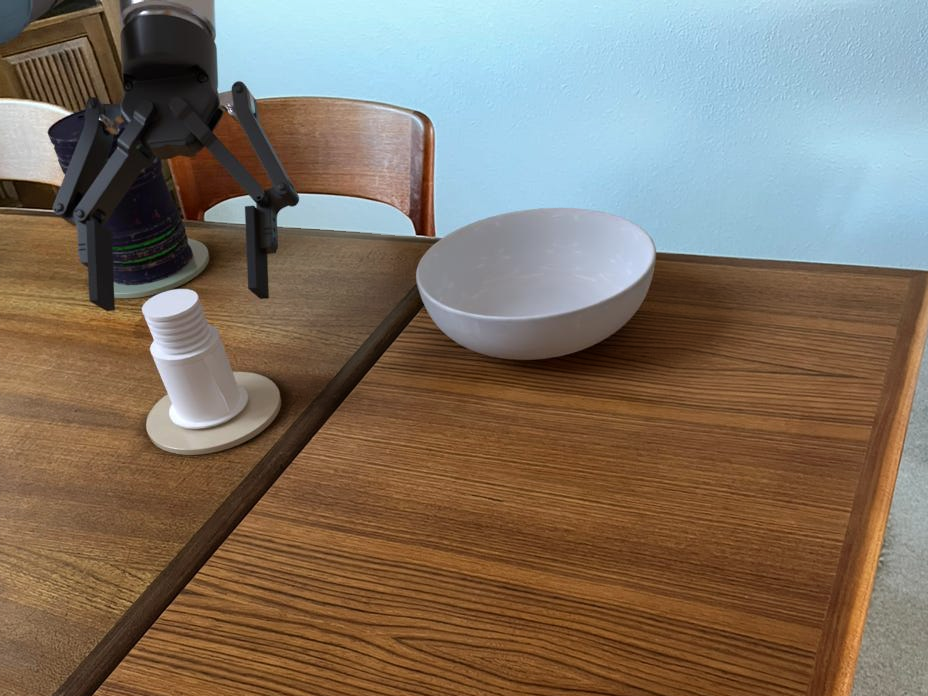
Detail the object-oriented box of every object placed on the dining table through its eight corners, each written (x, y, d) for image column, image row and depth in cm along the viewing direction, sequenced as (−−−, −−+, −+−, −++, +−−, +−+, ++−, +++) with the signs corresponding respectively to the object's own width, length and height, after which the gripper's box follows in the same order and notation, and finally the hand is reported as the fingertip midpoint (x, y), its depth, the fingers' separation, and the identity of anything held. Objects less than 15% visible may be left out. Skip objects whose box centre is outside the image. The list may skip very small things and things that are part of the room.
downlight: (152, 414, 86) (107, 310, 79) (214, 376, 89) (176, 273, 82) (205, 442, 82) (162, 335, 75) (268, 402, 85) (233, 295, 78)
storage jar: (211, 255, 107) (163, 110, 96) (138, 294, 103) (79, 146, 92) (161, 236, 113) (110, 97, 102) (89, 272, 108) (28, 131, 97)
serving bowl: (699, 343, 84) (703, 267, 79) (479, 420, 80) (468, 345, 75) (589, 253, 98) (586, 184, 93) (397, 315, 94) (383, 246, 89)
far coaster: (76, 301, 105) (73, 296, 104) (120, 246, 114) (118, 241, 113) (187, 295, 103) (185, 289, 102) (224, 239, 111) (222, 234, 111)
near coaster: (128, 457, 83) (125, 451, 82) (175, 379, 91) (172, 373, 90) (260, 453, 81) (258, 447, 80) (296, 374, 89) (294, 368, 88)
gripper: (330, 46, 81) (339, 302, 82) (53, 77, 84) (64, 323, 85) (301, -10, 73) (311, 272, 74) (-1, 27, 77) (11, 296, 78)
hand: (179, 300), depth 80 cm, fingers open, 13 cm apart
